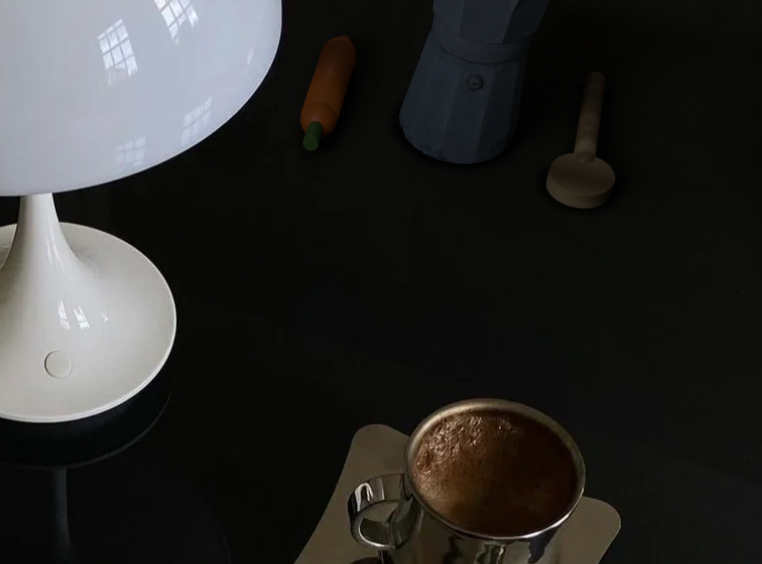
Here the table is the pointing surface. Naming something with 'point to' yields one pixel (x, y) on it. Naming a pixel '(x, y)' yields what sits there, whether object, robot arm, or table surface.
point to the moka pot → (470, 79)
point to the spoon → (584, 156)
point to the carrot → (327, 90)
